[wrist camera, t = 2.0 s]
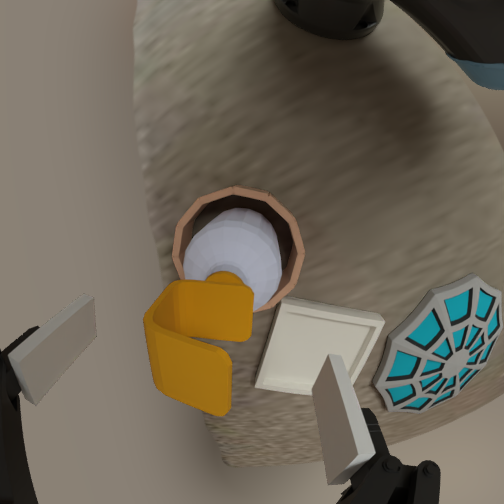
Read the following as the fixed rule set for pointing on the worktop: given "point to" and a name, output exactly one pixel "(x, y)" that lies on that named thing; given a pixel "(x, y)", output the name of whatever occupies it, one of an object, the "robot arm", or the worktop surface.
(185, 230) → the holder ring
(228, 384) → the soap bottle
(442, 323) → the decorative platform
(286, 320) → the tray
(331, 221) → the worktop surface
